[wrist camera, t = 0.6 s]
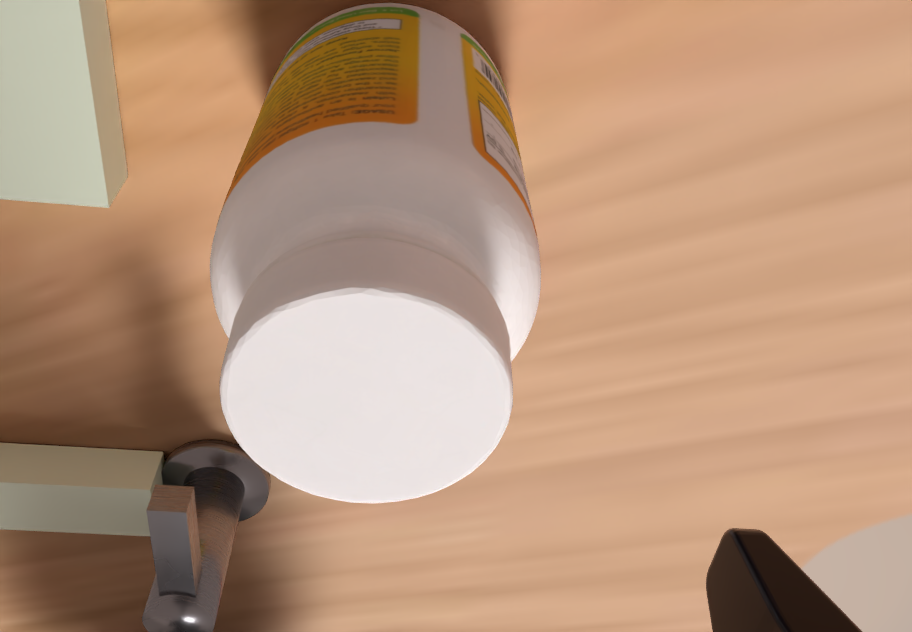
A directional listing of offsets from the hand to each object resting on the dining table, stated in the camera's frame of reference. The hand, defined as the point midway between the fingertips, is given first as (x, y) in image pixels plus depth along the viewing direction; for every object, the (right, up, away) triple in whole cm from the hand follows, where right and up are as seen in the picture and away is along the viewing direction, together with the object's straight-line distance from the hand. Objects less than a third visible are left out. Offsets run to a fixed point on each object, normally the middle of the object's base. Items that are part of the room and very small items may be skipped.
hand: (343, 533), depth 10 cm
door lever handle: (-6, -1, +15) cm, 17 cm away
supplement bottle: (0, +7, +10) cm, 12 cm away
